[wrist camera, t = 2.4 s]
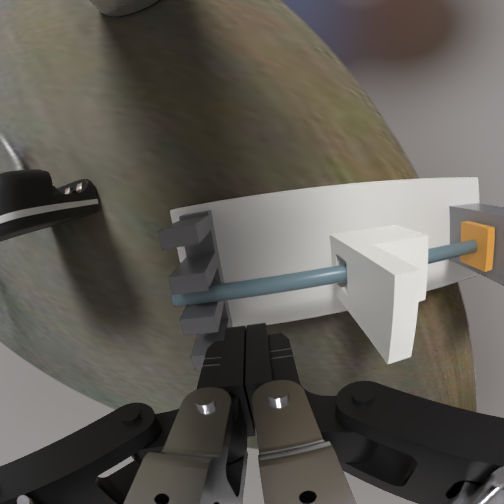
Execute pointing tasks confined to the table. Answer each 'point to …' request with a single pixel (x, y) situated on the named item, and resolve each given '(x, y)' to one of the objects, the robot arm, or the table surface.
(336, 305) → the cable jig
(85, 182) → the battery charger
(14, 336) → the table surface
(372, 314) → the sleeve
